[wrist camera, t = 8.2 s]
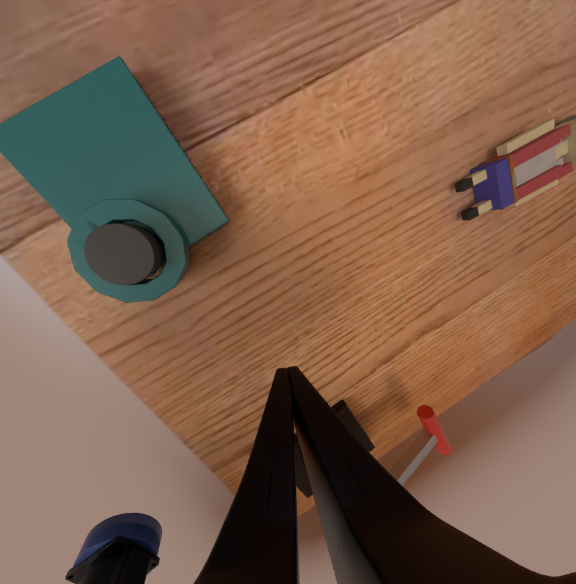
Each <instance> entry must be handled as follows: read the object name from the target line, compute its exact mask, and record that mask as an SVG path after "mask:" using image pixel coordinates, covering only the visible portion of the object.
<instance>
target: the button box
mask: <svg viewBox="0 0 576 584" xmlns="http://www.w3.org/2000/svg"><path fill="white" fill-rule="evenodd" d="M0 152H1V153H2V155H3V156H4V157H5V158H6V159H7V160H8V161H9V162H10V163H11V164H12V165H13V166H14V167H15V168H16V170H17V171H18V172H19V173H20V174H21V175H22V176H23V177H24V178H25V179H26V180H27V181H28V182H29V183H30V185H31V186H32V187H33V188H34V189H35V190H36V191H37V192H38V193H39V194H40V195H41V196H42V197H43V199H44V200H45V201H46V202H47V203H48V204H49V205H50V206H51V207H52V208H53V209H54V210H55V211H56V212H57V214H58V215H59V216H60V217H61V218H62V219H63V220H64V221H65V222H66V223H67V224H68V225H69V226H70V227H71V229H72V230H71V232H70V235H69V237H68V240H67V241H68V242H67V243H68V247H69V251H70V254H71V258H72V262H73V265H74V269H75V271H76V272H77V273H78V274H79V275H80V276H81V277H82V278H83V279H84V280H85V281H86V282H87V283H88V284H89V285H90V286H91V287H92V288H93V289H94V290H95V291H96V292H98V293H101V294H104V295H107V296H109V297H112V298H115V299H118V300H120V301H123V302H126V303H128V302H139V301H151V300H155V299H157V298H159V297H160V296H162V295H163V294H165V293H166V292H168V291H169V290H171V289H172V288H174V287H175V286H176V285H177V284H178V283H179V282H180V281H181V280H182V278H183V276H184V273H185V271H186V269H187V267H188V265H189V263H190V254H189V247H191V246H192V245H194V244H195V243H197V242H199V241H200V240H202V239H203V238H205V237H206V236H208V235H210V234H211V233H213V232H214V231H216V230H217V229H219V228H220V227H222V226H224V225H225V224H227V223H228V222H229V219H228V218H227V216H226V215H225V213H224V212H223V210H222V209H221V207H220V206H219V204H218V203H217V201H216V200H215V198H214V197H213V195H212V194H211V192H210V191H209V189H208V187H207V186H206V184H205V183H204V181H203V180H202V178H201V177H200V175H199V174H198V172H197V171H196V169H195V168H194V166H193V165H192V163H191V162H190V160H189V159H188V157H187V156H186V154H185V153H184V151H183V150H182V148H181V147H180V145H179V144H178V142H177V141H176V139H175V138H174V136H173V135H172V133H171V132H170V130H169V129H168V127H167V126H166V124H165V123H164V121H163V120H162V118H161V117H160V115H159V114H158V112H157V111H156V109H155V108H154V106H153V105H152V103H151V102H150V100H149V99H148V97H147V96H146V94H145V93H144V91H143V90H142V88H141V87H140V85H139V84H138V82H137V81H136V79H135V78H134V76H133V75H132V73H131V72H130V70H129V68H128V67H127V65H126V64H125V62H124V61H123V59H122V58H121V57H120V56H118V57H117V58H115V59H113V60H111V61H110V62H108V63H106V64H104V65H103V66H101V67H99V68H97V69H95V70H94V71H92V72H90V73H88V74H87V75H85V76H83V77H81V78H80V79H78V80H76V81H74V82H73V83H71V84H69V85H67V86H65V87H64V88H62V89H60V90H58V91H57V92H55V93H53V94H51V95H50V96H48V97H46V98H44V99H42V100H41V101H39V102H37V103H35V104H34V105H32V106H30V107H28V108H27V109H25V110H23V111H21V112H20V113H18V114H16V115H14V116H12V117H11V118H9V119H7V120H5V121H4V122H2V123H0ZM110 223H120V224H132V225H137V226H140V227H142V228H144V229H146V230H148V231H149V232H150V233H151V234H153V235H154V236H155V238H156V239H157V240H158V242H159V244H160V246H161V249H162V262H161V265H163V264H164V263H165V265H164V267H163V269H162V272H161V274H160V275H159V276H157V277H155V278H154V279H144V280H142V281H141V282H138V283H136V284H132V285H117V284H113V283H110V282H107V281H105V280H103V279H102V278H100V277H99V276H97V275H96V274H95V273H94V272H93V271H92V270H91V268H90V267H89V265H88V264H87V262H86V259H85V255H84V246H85V242H86V239H87V237H88V236H89V234H90V233H91V232H92V231H93V230H95V229H96V228H98V227H100V226H102V225H105V224H110ZM161 265H160V266H161Z"/></svg>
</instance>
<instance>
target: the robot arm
mask: <svg viewBox="0 0 576 584" xmlns="http://www.w3.org/2000/svg"><path fill="white" fill-rule="evenodd" d="M293 421H294V422H293ZM294 425H295V429H296V433H297V437H298V440H299V444H300V448H301V451H302V455H303V459H304V463H305V466H306V470H307V474H308V477H309V481H310V485H311V488H312V492H313V496H314V499H315V503H316V506H317V510H318V514H319V518H320V521H321V525H322V529H323V532H324V536H325V539H326V543H327V547H328V551H329V554H330V558H331V561H332V565H333V569H334V571H335V576H336V580H337V584H576V572H574V573H570V574H566V575H563V576H558V577H551V576H546V575H542V574H539V573H536V572H534V571H531V570H529V569H527V568H525V567H523V566H521V565H519V564H517V563H515V562H514V561H512V560H510V559H508V558H507V557H505V556H503V555H501V554H500V553H498V552H496V551H495V550H493V549H491V548H489V547H487V546H486V545H484V544H482V543H481V542H479V541H477V540H475V539H474V538H472V537H470V536H469V535H467V534H465V533H463V532H462V531H460V530H458V529H456V528H455V527H453V526H451V525H450V524H448V523H446V522H444V521H443V520H441V519H440V518H438V517H437V516H435V515H434V514H432V513H431V512H430V511H428V510H427V509H426V508H425V507H424V506H423V505H421V504H420V503H419V502H418V501H417V500H416V499H415V498H414V497H413V496H412V495H411V494H410V493H409V492H408V491H407V490H406V489H405V488H404V487H403V486H402V485H401V484H400V483H399V482H398V481H397V480H396V479H395V478H394V477H393V476H392V475H391V474H390V473H389V472H388V471H387V470H385V468H384V467H383V466H381V464H380V463H379V462H378V461H377V460H376V459H375V458H374V457H373V456H372V455H371V454H370V453H369V452H368V451H367V450H366V449H365V447H364V446H363V445H362V444H361V443H360V442H359V441H358V439H357V438H356V437H355V436H354V435H353V433H352V432H351V431H350V430H349V429H348V428H347V426H346V425H345V424H344V423H343V421H342V420H341V419H340V418H339V417H338V415H337V414H336V413H335V412H334V411H333V409H332V408H331V407H330V406H329V405H328V403H327V402H326V401H325V400H324V399H323V397H322V396H321V395H320V394H319V393H318V391H317V390H316V389H315V388H314V386H313V385H312V384H311V383H310V382H309V380H308V379H307V378H306V377H305V376H304V374H303V373H302V372H301V371H300V370H299V368H298V367H297V366H292V367H288V368H279V369H277V370H276V373H275V376H274V380H273V383H272V386H271V389H270V393H269V396H268V399H267V403H266V406H265V409H264V412H263V416H262V419H261V422H260V425H259V429H258V432H257V435H256V438H255V442H254V445H253V448H252V451H251V454H250V458H249V461H248V464H247V467H246V470H245V473H244V475H243V478H242V481H241V483H240V486H239V488H238V491H237V493H236V496H235V498H234V500H233V503H232V505H231V507H230V510H229V512H228V514H227V516H226V519H225V521H224V524H223V526H222V528H221V530H220V533H219V535H218V538H217V540H216V542H215V544H214V547H213V549H212V551H211V553H210V555H209V557H208V559H207V561H206V563H205V565H204V567H203V569H202V571H201V572H200V574H199V576H198V577H197V579H196V581H195V582H194V584H300V583H299V556H298V530H297V501H296V474H295V447H294ZM348 430H349V431H348ZM159 560H160V558H159V557H158V556H156V555H154V554H153V553H151V552H149V551H148V550H146V549H144V548H142V547H141V546H139V545H137V544H135V543H134V542H132V541H130V540H129V539H127V538H125V537H123V536H116V537H115V538H113V539H112V540H111V541H109V542H108V543H106V544H105V545H104V546H102V547H101V548H99V549H98V550H97V551H95V552H94V553H92V554H91V555H90V556H88V557H87V558H85V559H84V560H83V561H81V562H80V563H78V564H77V565H76V566H74V567H73V568H71V569H70V570H69V571H68V573H67V575H66V580H68V581H70V582H72V583H75V584H144V583H145V579H146V575H147V573H148V572H150V571H151V570H152V569H154V568H155V567H156V566H158V564H159Z"/></svg>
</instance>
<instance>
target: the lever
mask: <svg viewBox="0 0 576 584" xmlns="http://www.w3.org/2000/svg"><path fill="white" fill-rule="evenodd" d="M417 414H418V416H419V418H420V420H421V422H422V424H423V426H424V428H425V429H424V430H423V431H422V432H421V434H420V435H419V436H418V437H417V439H416V440H415V441H414V442H413V444H412V445H411V446H410V447H409V448H408V449H407V451H406V452H405V453H404V454H403V456H402V457H401V458H400V459H399V460H398V462H397V463H396V464H395V465H394V466H393V468H392V469H391V470H390V471H389V473H390V474H391V475H392V476H393V477H394V478H395V479H396V480H397V481H398V482H399V483H400V484H401V485H402V486H403V484H404V483H405V482H406V481H407V479H408V478H409V477H410V476H411V474H412V473H413V472H414V470H415V469H416V468H417V467H418V465H419V464H420V463H421V462H422V460H423V459H424V458H425V457H426V455H427V454H428V453H429V452H430V450H431V449H432V448H433V447H435V449H436V451H437V452H438V453H440V454H442V455H448V454H450V452H451V446H450V444H449V442H448V440H447V438H446V436H445V434H444V432H443V430H442V427H441V426H440V423H439V421H438V419H437V417H436V415H435V413H434V411H433V409H432V408H431V407H429V406H426V405H422V406H420V407H419V408H418V409H417Z"/></svg>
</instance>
